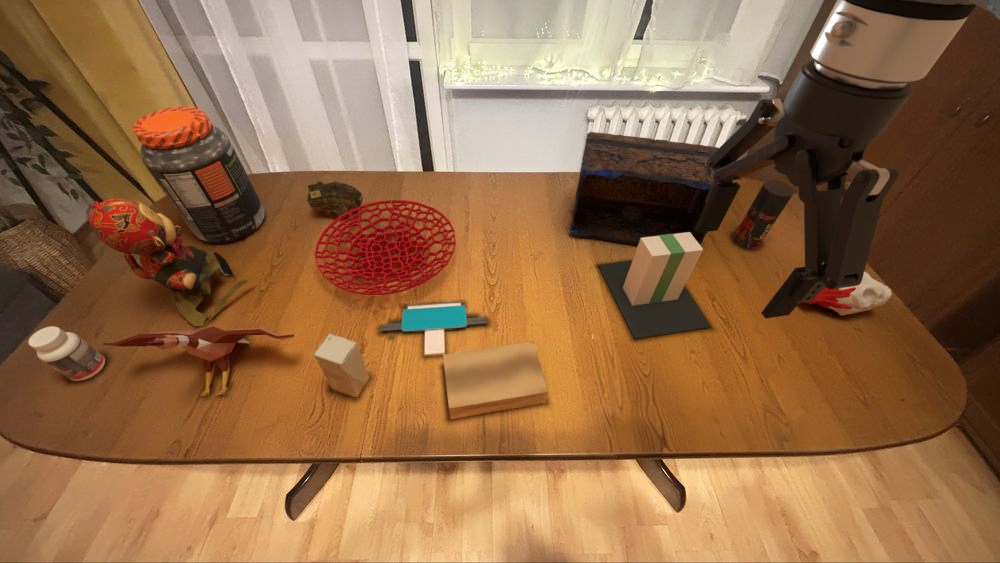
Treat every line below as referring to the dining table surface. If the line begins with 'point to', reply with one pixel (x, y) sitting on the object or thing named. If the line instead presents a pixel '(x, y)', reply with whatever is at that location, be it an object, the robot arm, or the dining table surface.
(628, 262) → the mat
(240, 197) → the supplement tub
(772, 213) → the deodorant
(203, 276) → the red patterned figure
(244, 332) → the decorative bird
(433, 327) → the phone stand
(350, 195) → the rock
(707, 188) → the decorative box
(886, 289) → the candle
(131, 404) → the dining table surface
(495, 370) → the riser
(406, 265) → the bowl
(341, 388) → the box
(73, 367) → the pill bottle
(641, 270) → the packet
